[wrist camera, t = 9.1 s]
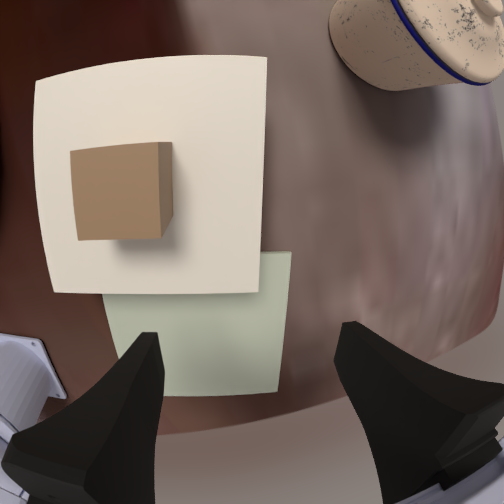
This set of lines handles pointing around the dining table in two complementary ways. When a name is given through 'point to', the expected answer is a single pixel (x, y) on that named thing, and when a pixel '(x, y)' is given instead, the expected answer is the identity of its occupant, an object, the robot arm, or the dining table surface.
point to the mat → (212, 333)
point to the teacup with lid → (419, 41)
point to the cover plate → (201, 171)
